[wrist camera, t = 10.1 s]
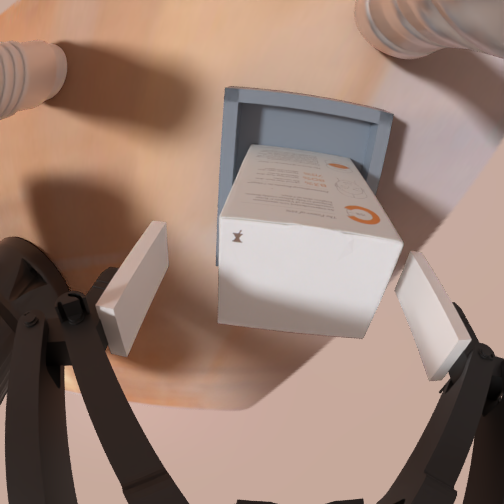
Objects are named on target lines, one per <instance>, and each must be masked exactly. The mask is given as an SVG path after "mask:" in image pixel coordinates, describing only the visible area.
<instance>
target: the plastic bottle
mask: <svg viewBox="0 0 504 504" xmlns="http://www.w3.org/2000/svg"><path fill="white" fill-rule="evenodd" d="M354 14H355V21H356V24H357V27H358V29H359V31H360V33H361V34H362V36H363V37H364V38H365V39H366V41H367V42H369V43H370V44H371V45H372V46H373V47H375V48H376V49H378V50H379V51H381V52H383V53H385V54H388V55H390V56H394V57H397V58H401V59H418V58H421V57H424V56H427V55H430V54H432V53H433V52H435V51H437V50H440V49H444V48H462V49H470V50H474V51H478V52H482V53H485V54H489V55H493V56H496V57H499V58H503V59H504V0H356V4H355V12H354Z"/></svg>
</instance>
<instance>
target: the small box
mask: <svg viewBox="0 0 504 504" xmlns="http://www.w3.org/2000/svg"><path fill="white" fill-rule="evenodd" d="M403 246H404V242H403V240H402V239H401V237H400V236H399V234H398V232H397V231H396V229H395V227H394V226H393V224H392V222H391V221H390V219H389V217H388V216H387V214H386V212H385V211H384V209H383V207H382V206H381V204H380V203H379V201H378V199H377V198H376V196H375V195H374V193H373V192H372V190H371V189H370V187H369V186H368V184H367V182H366V181H365V180H364V178H363V176H362V175H361V174H360V172H359V171H358V169H357V168H356V166H355V165H354V163H353V162H352V161H351V159H350V158H347V157H341V156H336V155H330V154H324V153H318V152H312V151H305V150H298V149H291V148H283V147H275V146H266V145H256V144H251V146H250V148H249V150H248V152H247V154H246V156H245V158H244V160H243V162H242V165H241V167H240V169H239V172H238V174H237V177H236V179H235V181H234V184H233V186H232V188H231V190H230V193H229V195H228V197H227V200H226V202H225V204H224V207H223V209H222V211H221V214H220V216H219V270H218V321H217V323H219V324H226V325H234V326H241V327H248V328H257V329H264V330H273V331H282V332H291V333H301V334H312V335H322V336H333V337H346V338H359V339H362V338H364V336H365V334H366V331H367V329H368V327H369V325H370V323H371V321H372V318H373V316H374V314H375V312H376V310H377V308H378V305H379V303H380V301H381V299H382V297H383V294H384V292H385V290H386V288H387V285H388V283H389V281H390V278H391V276H392V273H393V271H394V269H395V266H396V264H397V261H398V259H399V256H400V254H401V251H402V249H403Z"/></svg>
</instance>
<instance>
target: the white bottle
mask: <svg viewBox="0 0 504 504" xmlns="http://www.w3.org/2000/svg"><path fill="white" fill-rule="evenodd" d="M66 74H67V59H66V56H65V53H64V52H63V50H62V49H61V48H60V47H59V46H58V45H56V44H52V43H50V44H48V43H46V42H45V41H42V40H34V41H28V42H22V43H19V42H16V41H8V42H0V120H1V119H3V118H7V117H10V116H12V115H14V114H15V113H16V112H17V111H22V110H27V109H32V108H35V107H37V106H39V105H40V104H42V103H43V102H44V101H45V100H48V99H51V98H52V97H54V96H55V95H56V94H57V93H58V92H59V90H60V89H61V87H62V85H63V84H64V81H65V78H66Z"/></svg>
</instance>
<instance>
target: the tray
mask: <svg viewBox="0 0 504 504" xmlns="http://www.w3.org/2000/svg"><path fill="white" fill-rule="evenodd" d="M393 115H394V114H392V113H390V112H388V111H385V110H382V109H378V108H374V107H370V106H365V105H361V104H356V103H352V102H347V101H342V100H336V99H331V98H325V97H320V96H314V95H307V94H300V93H293V92H286V91H278V90H269V89H259V88H247V87H234V86H230V87H226V88H225V96H224V110H223V124H222V140H221V156H220V174H219V195H218V217H217V244H216V266H219V216H220V214H221V211H222V209H223V207H224V204H225V202H226V200H227V197H228V195H229V193H230V190H231V188H232V186H233V184H234V181H235V179H236V177H237V174H238V172H239V169H240V167H241V165H242V162H243V160H244V158H245V156H246V154H247V152H248V150H249V148H250V146H251V144H256V145H266V146H275V147H283V148H291V149H298V150H305V151H312V152H318V153H324V154H330V155H336V156H341V157H347V158H350V159H351V161H352V162H353V163H354V165H355V166H356V168H357V169H358V171H359V172H360V174H361V175H362V176H363V178H364V180H365V181H366V182H367V184H368V186H369V187H370V189H371V190H372V192H373V193H374V195H375V196H376V192H377V188H378V184H379V180H380V176H381V171H382V167H383V163H384V158H385V154H386V149H387V145H388V140H389V135H390V130H391V125H392V120H393Z"/></svg>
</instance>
